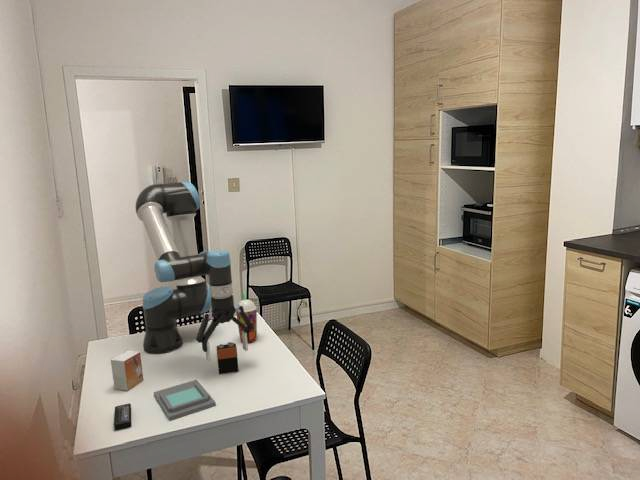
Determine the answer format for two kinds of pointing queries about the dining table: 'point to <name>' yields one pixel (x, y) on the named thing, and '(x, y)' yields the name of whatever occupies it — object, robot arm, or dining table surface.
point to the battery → (227, 358)
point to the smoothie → (252, 316)
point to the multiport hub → (122, 417)
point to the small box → (127, 370)
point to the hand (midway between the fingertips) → (227, 354)
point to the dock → (183, 399)
